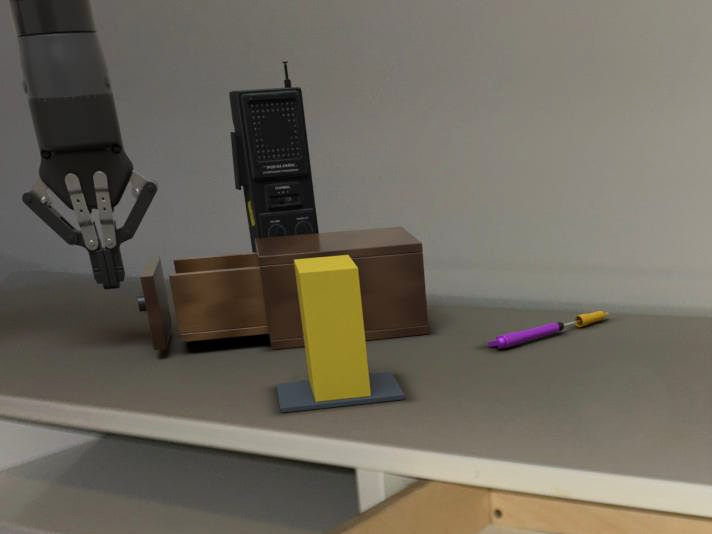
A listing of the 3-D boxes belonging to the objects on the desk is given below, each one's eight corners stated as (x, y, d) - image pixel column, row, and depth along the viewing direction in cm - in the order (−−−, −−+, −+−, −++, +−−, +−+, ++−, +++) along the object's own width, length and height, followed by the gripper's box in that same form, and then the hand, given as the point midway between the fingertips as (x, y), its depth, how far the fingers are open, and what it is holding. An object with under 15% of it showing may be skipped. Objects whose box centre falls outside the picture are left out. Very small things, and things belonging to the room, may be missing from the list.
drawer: (141, 351, 103) (126, 277, 100) (149, 326, 114) (136, 258, 111) (305, 335, 106) (295, 263, 102) (297, 312, 116) (289, 245, 113)
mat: (281, 412, 85) (280, 408, 85) (276, 388, 92) (276, 383, 92) (405, 399, 86) (404, 394, 86) (391, 376, 93) (391, 371, 93)
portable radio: (263, 321, 118) (226, 64, 106) (250, 312, 123) (212, 65, 111) (331, 311, 121) (302, 60, 109) (315, 303, 125) (286, 61, 114)
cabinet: (271, 349, 105) (258, 256, 101) (266, 322, 117) (254, 238, 113) (428, 334, 107) (422, 242, 103) (408, 309, 119) (401, 226, 115)
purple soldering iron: (503, 348, 99) (612, 318, 109) (501, 335, 99) (610, 307, 108) (484, 352, 101) (592, 322, 111) (481, 339, 100) (590, 310, 110)
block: (315, 402, 86) (298, 272, 81) (309, 381, 92) (293, 259, 87) (371, 396, 86) (358, 267, 82) (361, 375, 92) (348, 254, 88)
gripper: (146, 86, 102) (181, 275, 110) (1, 96, 100) (48, 288, 108) (141, 87, 95) (179, 287, 104) (-14, 97, 93) (37, 301, 102)
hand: (112, 287), depth 106 cm, fingers closed
